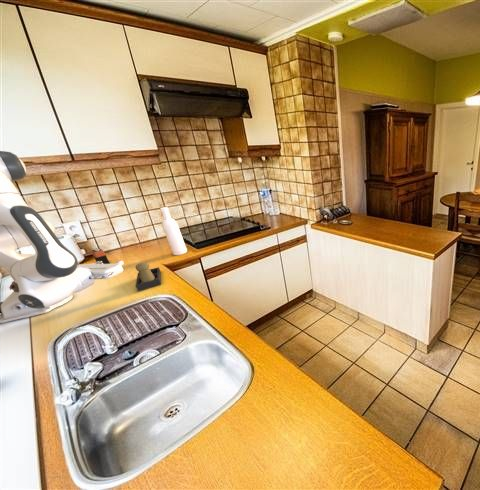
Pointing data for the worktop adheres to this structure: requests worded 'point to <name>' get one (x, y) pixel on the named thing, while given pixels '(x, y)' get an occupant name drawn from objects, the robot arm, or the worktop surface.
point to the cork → (145, 272)
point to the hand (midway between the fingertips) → (111, 262)
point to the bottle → (173, 233)
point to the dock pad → (146, 285)
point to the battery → (100, 255)
